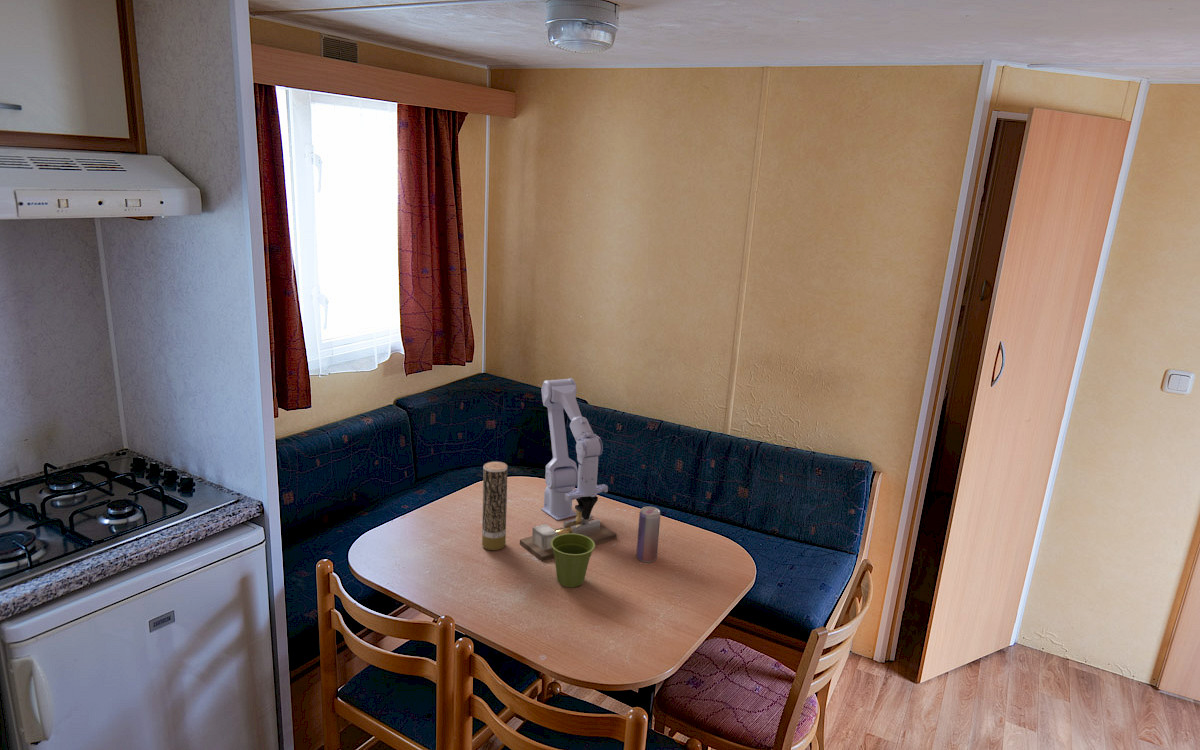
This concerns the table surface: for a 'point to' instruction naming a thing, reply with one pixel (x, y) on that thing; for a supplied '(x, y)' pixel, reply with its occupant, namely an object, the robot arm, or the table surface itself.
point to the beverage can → (648, 534)
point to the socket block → (543, 536)
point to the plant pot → (572, 558)
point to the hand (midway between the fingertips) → (585, 518)
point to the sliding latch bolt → (578, 520)
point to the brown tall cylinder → (494, 505)
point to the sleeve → (584, 526)
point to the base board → (548, 554)
